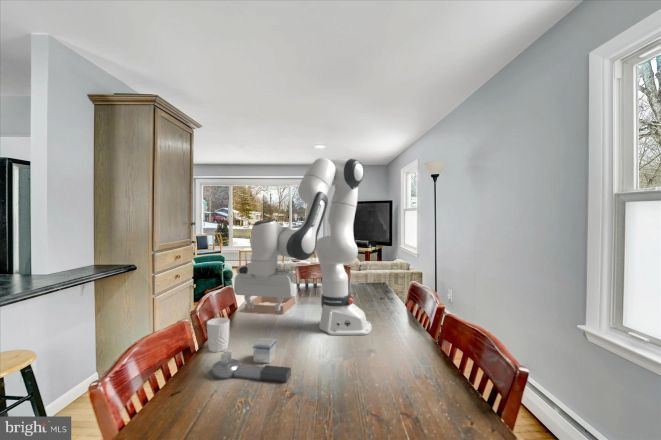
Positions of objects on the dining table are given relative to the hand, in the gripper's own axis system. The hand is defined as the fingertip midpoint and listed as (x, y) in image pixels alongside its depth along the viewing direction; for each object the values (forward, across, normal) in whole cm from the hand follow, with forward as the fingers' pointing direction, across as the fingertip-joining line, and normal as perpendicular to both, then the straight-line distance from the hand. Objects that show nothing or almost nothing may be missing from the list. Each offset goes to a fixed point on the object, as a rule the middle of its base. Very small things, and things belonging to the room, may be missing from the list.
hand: (263, 309), depth 107 cm
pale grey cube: (+17, 0, 0) cm, 17 cm away
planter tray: (+17, +20, -56) cm, 62 cm away
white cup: (+17, +20, -5) cm, 27 cm away
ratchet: (+17, 0, +11) cm, 20 cm away
